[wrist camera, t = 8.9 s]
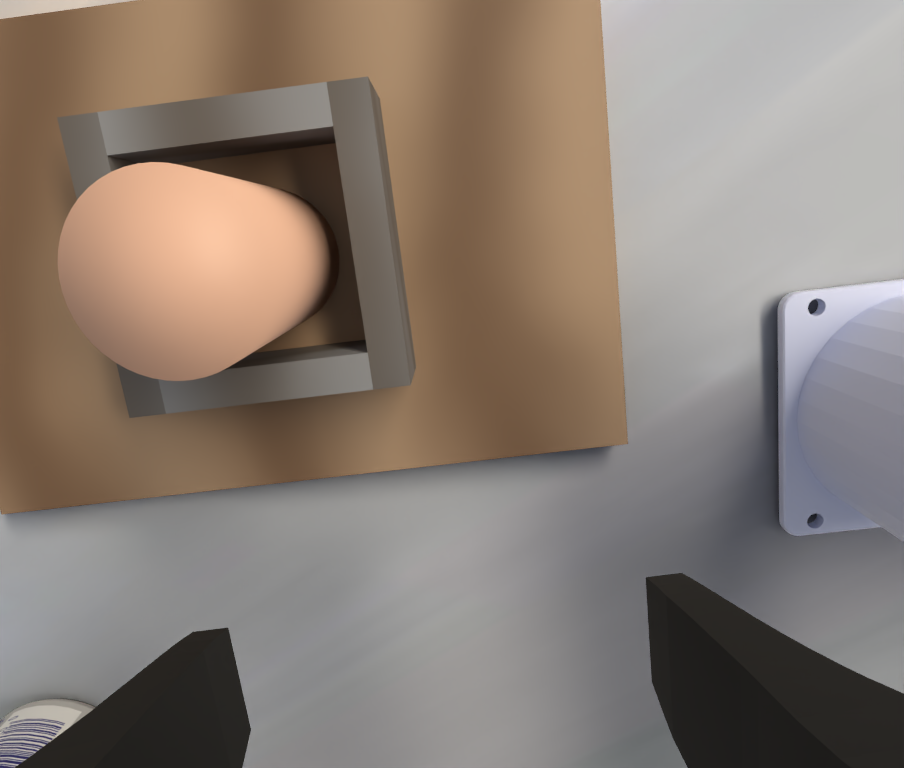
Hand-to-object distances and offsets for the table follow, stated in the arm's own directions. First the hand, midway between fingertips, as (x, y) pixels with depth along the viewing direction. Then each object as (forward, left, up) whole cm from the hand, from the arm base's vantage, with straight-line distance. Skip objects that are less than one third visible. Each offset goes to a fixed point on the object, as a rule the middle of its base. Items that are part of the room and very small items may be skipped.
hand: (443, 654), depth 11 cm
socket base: (+4, -7, -10) cm, 13 cm away
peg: (+4, -7, -9) cm, 12 cm away
